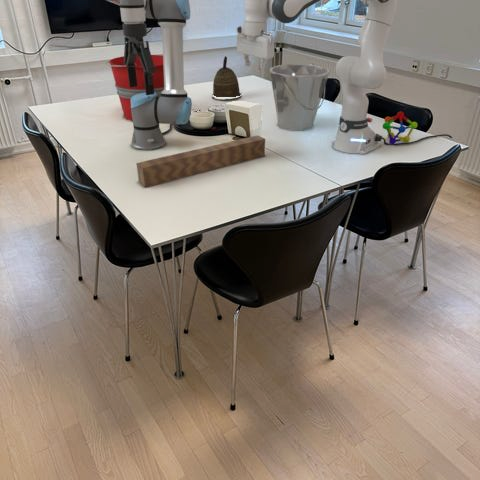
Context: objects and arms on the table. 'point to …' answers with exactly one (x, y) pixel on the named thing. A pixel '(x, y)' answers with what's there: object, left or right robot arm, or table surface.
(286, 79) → the bucket
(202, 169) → the beam
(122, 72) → the bucket
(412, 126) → the educational toy
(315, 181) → the table surface
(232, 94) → the bell
